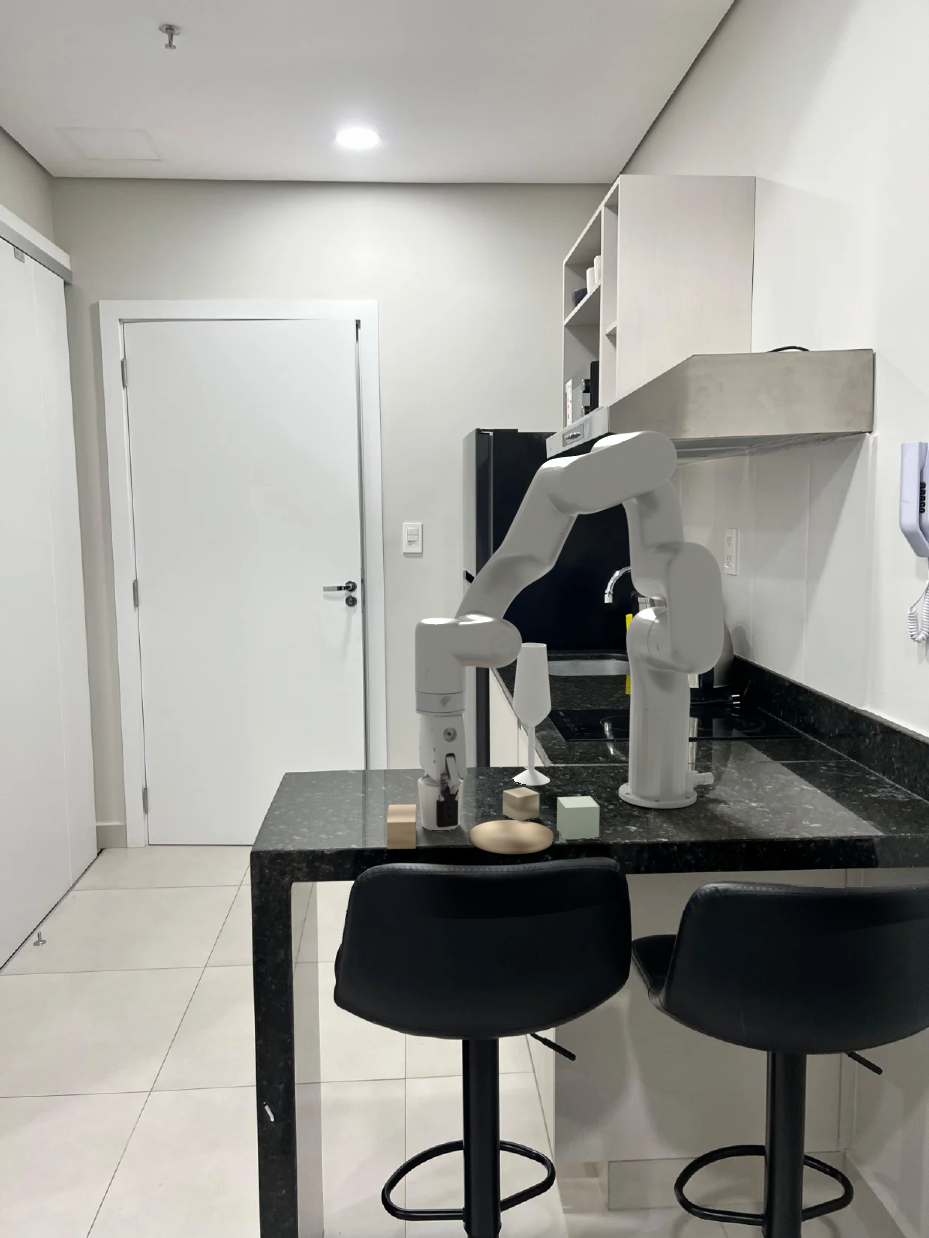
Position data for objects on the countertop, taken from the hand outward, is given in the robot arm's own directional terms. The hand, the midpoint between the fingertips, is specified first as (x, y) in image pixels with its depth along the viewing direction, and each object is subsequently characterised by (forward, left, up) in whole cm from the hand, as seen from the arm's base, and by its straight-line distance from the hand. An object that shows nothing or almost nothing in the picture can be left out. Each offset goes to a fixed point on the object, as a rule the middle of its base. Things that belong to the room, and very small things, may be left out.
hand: (440, 817), depth 142 cm
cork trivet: (-8, +9, -1) cm, 12 cm away
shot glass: (0, 0, -1) cm, 1 cm away
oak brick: (+7, +4, -1) cm, 8 cm away
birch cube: (-13, 0, -1) cm, 13 cm away
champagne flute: (-22, -18, -1) cm, 28 cm away
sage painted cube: (-18, +10, -1) cm, 21 cm away
